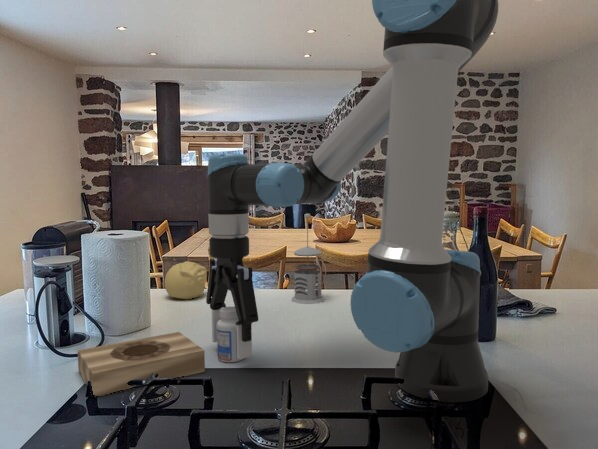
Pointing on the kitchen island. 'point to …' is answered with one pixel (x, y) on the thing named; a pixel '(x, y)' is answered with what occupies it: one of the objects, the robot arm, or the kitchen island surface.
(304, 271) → the french press
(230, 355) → the pill bottle
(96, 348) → the board
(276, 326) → the kitchen island surface
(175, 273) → the sculpture
